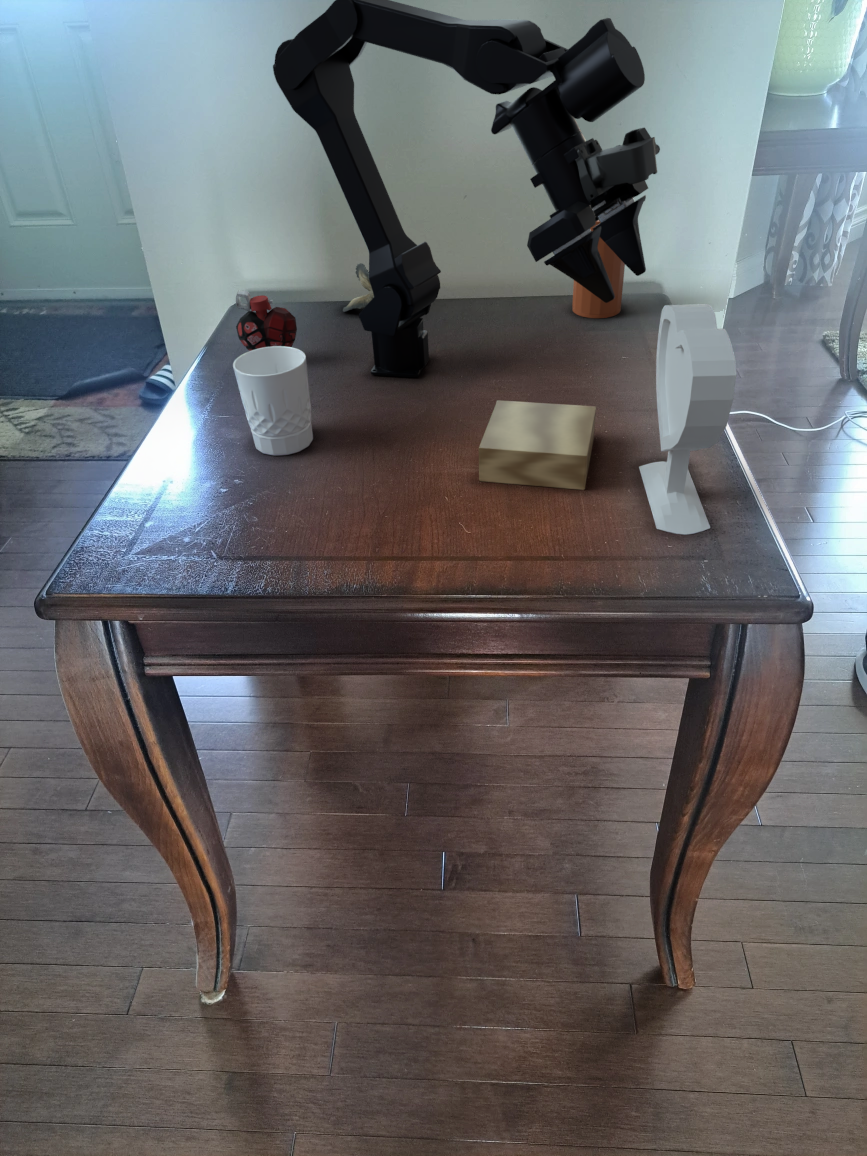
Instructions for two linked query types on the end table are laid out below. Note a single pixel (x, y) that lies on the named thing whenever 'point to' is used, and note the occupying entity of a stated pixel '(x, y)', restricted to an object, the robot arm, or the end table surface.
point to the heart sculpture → (687, 410)
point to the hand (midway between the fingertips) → (626, 286)
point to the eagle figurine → (364, 279)
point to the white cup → (276, 398)
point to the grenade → (264, 323)
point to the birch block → (538, 444)
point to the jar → (591, 304)
